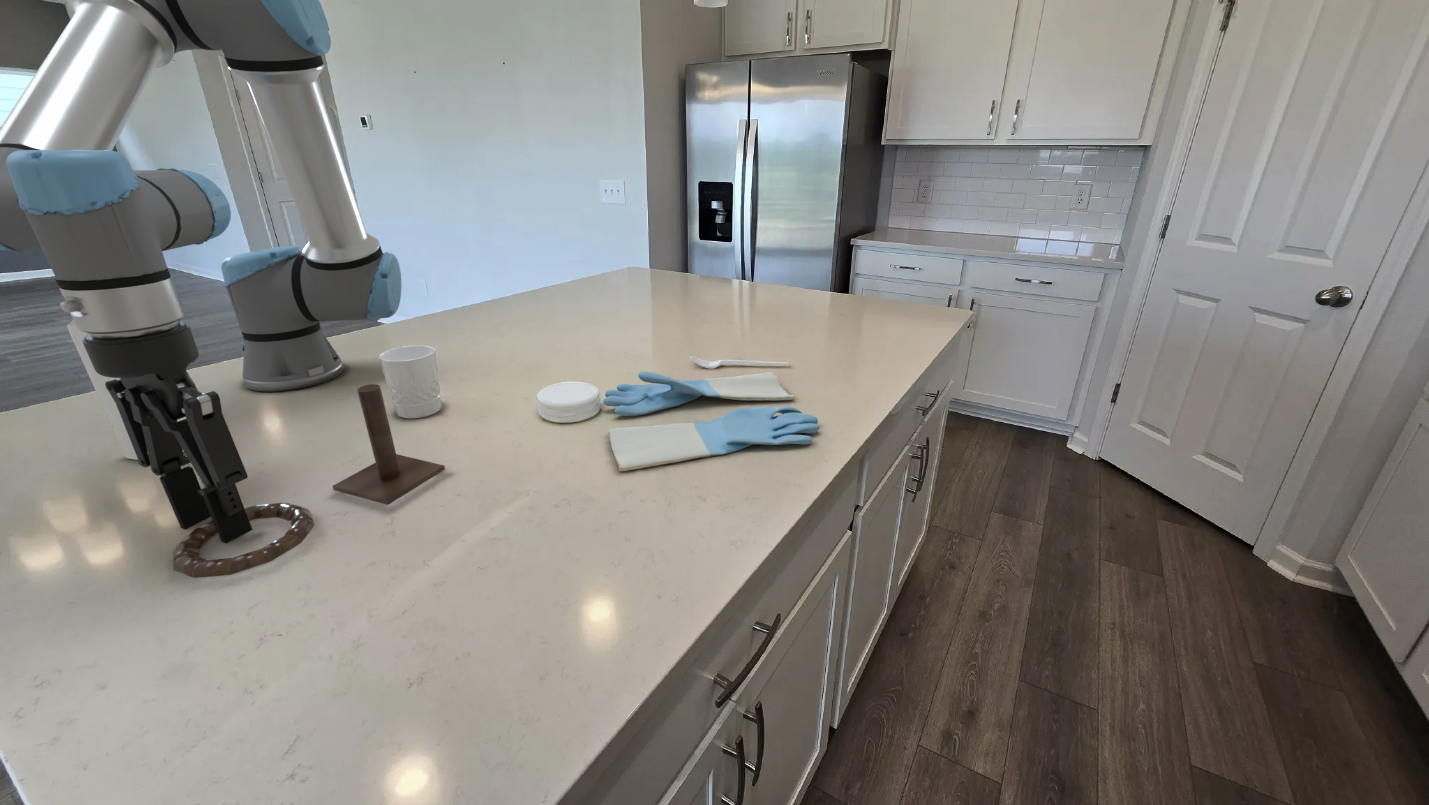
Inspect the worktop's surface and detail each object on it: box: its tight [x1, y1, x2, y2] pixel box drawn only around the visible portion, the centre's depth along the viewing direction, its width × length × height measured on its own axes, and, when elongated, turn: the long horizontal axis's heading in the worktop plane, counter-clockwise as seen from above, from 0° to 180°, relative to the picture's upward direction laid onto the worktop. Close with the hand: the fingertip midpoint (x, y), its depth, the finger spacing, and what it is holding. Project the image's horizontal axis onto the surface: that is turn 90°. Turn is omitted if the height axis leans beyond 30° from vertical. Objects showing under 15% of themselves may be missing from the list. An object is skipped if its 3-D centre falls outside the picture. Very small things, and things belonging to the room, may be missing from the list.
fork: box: [688, 354, 791, 370], centre depth 116 cm, size 3×20×2 cm, turn 89°
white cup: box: [378, 344, 443, 419], centre depth 94 cm, size 8×8×10 cm
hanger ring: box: [172, 502, 315, 579], centre depth 63 cm, size 12×12×2 cm
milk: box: [66, 319, 186, 461], centre depth 78 cm, size 6×6×22 cm
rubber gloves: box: [602, 370, 820, 472], centre depth 93 cm, size 27×33×6 cm
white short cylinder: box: [536, 380, 602, 424], centre depth 95 cm, size 10×10×4 cm
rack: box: [332, 383, 446, 505], centre depth 72 cm, size 9×9×14 cm
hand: (216, 529), depth 64 cm, fingers open, 6 cm apart
